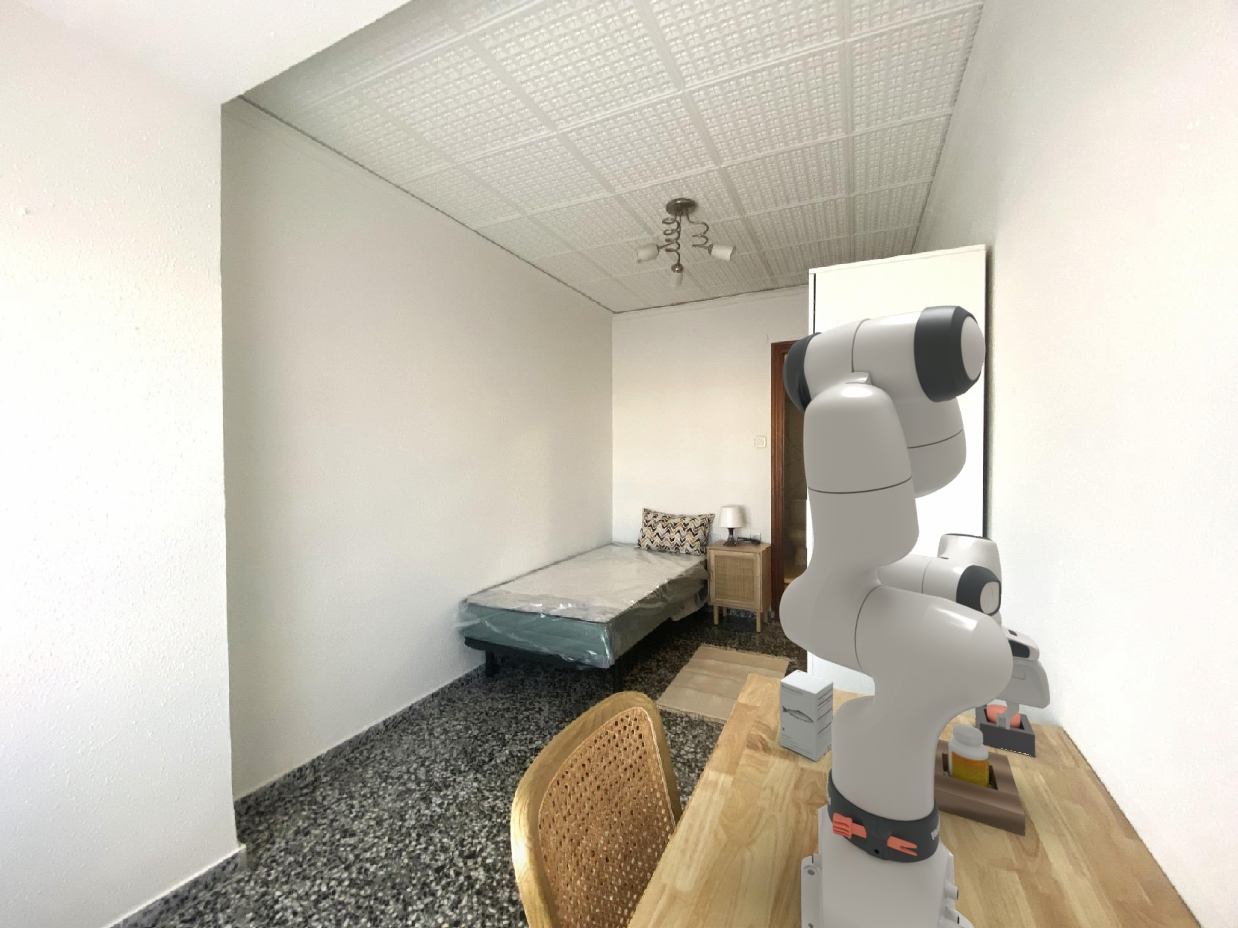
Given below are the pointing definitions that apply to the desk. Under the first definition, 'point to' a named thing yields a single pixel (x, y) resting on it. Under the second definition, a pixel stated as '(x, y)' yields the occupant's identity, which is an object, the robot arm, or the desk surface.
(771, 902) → the desk surface
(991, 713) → the button
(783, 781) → the desk surface
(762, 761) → the desk surface
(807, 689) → the supplement box
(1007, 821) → the brown bottle holder
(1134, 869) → the desk surface
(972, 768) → the supplement bottle
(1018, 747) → the button box
